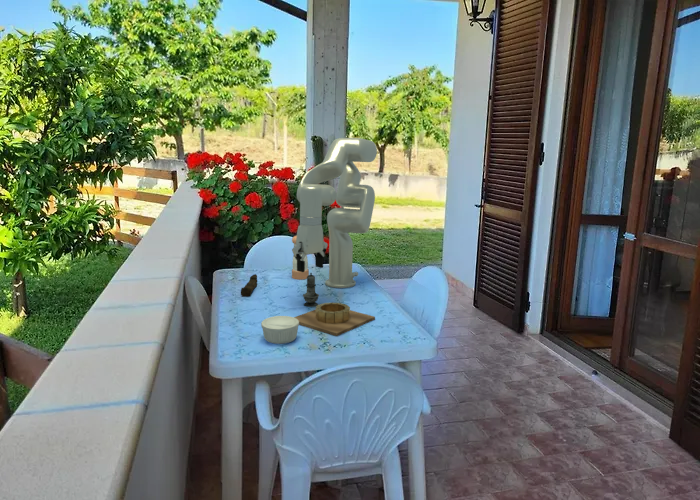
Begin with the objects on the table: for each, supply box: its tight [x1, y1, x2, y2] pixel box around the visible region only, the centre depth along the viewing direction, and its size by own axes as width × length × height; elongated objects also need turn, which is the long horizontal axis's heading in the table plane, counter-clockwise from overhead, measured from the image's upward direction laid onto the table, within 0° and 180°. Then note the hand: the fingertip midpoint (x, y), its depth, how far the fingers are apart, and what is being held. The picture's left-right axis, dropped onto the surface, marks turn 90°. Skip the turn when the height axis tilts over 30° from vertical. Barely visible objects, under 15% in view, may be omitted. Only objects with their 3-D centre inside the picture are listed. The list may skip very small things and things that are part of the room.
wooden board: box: [293, 309, 376, 337], centre depth 171 cm, size 20×20×1 cm
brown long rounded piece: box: [240, 273, 258, 298], centre depth 204 cm, size 19×4×5 cm, turn 176°
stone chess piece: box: [302, 272, 320, 308], centre depth 186 cm, size 6×6×12 cm
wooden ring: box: [315, 301, 351, 324], centre depth 170 cm, size 11×11×4 cm
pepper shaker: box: [291, 235, 310, 281], centre depth 222 cm, size 7×7×19 cm
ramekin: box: [260, 315, 300, 345], centre depth 155 cm, size 11×11×5 cm
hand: (310, 269), depth 184 cm, fingers open, 9 cm apart
